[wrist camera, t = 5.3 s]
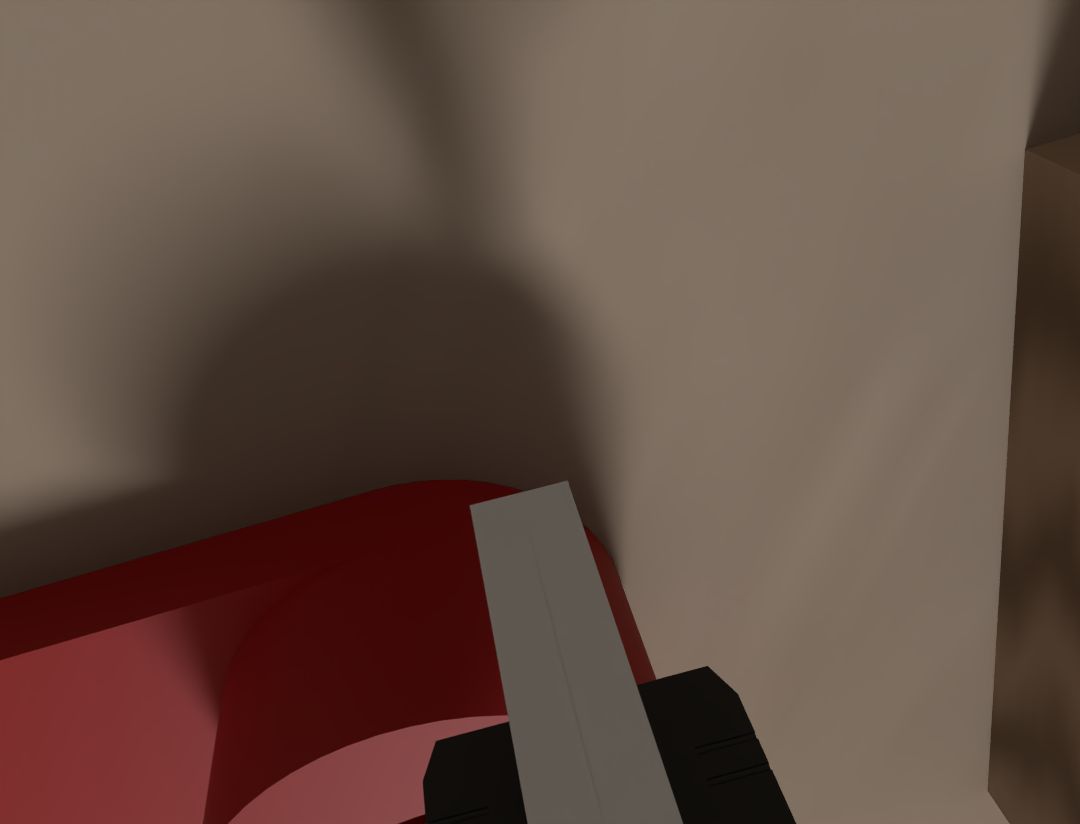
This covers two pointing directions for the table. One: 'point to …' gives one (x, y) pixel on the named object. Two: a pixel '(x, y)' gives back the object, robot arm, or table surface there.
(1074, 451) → the walnut base brick
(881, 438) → the table surface
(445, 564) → the lever
